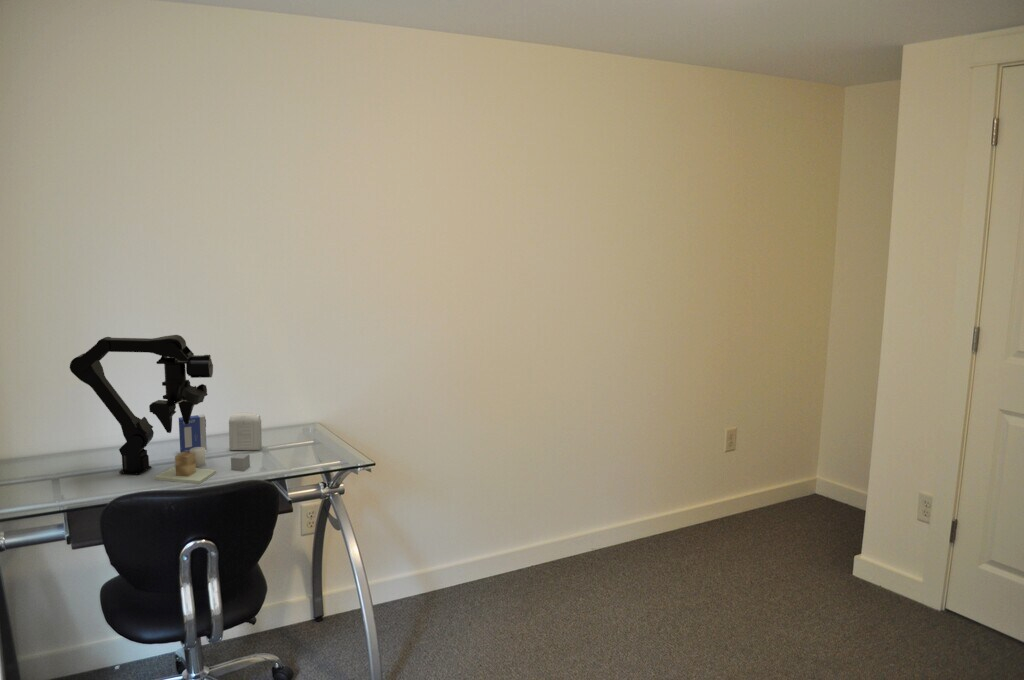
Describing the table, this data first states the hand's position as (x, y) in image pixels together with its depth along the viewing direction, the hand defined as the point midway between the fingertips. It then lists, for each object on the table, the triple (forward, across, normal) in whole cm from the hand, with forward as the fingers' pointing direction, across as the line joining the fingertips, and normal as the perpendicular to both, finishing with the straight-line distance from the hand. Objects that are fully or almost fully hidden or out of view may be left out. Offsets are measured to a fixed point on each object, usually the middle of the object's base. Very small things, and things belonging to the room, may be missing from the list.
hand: (178, 428), depth 227 cm
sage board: (+13, -5, -5) cm, 15 cm away
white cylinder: (+13, +5, -3) cm, 14 cm away
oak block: (+12, -5, -5) cm, 14 cm away
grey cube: (+13, +5, -17) cm, 22 cm away
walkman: (+13, +16, +5) cm, 21 cm away
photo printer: (+13, +22, -10) cm, 28 cm away
